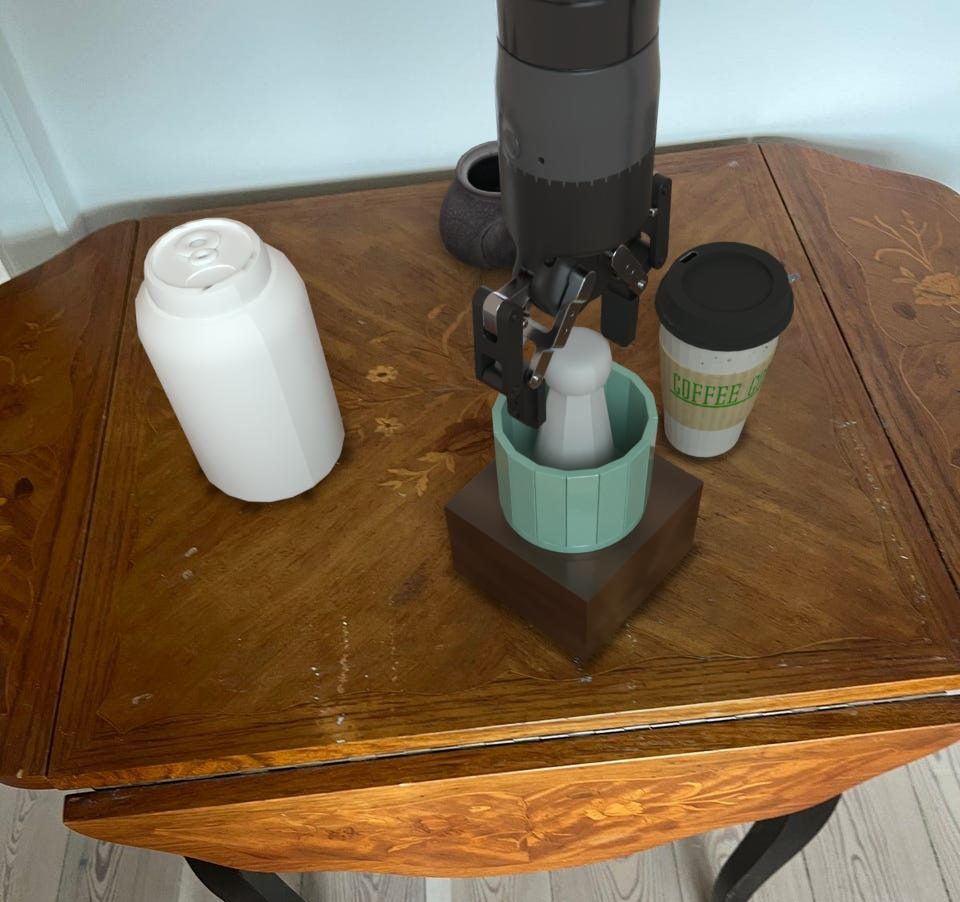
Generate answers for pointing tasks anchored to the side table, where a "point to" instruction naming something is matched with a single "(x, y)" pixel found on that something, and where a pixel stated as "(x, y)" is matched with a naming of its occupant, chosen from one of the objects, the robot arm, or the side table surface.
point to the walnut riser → (573, 559)
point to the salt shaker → (577, 406)
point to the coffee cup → (717, 340)
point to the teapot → (477, 212)
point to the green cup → (579, 475)
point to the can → (239, 359)
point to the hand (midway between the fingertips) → (574, 378)
